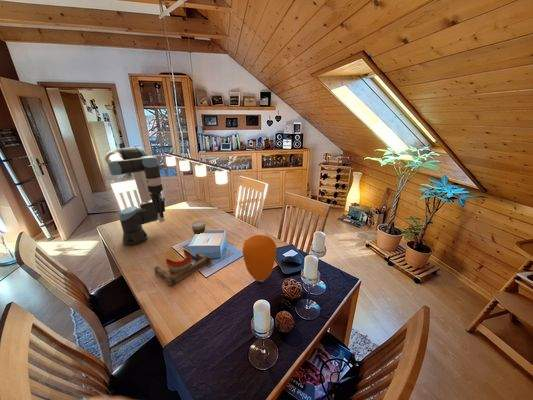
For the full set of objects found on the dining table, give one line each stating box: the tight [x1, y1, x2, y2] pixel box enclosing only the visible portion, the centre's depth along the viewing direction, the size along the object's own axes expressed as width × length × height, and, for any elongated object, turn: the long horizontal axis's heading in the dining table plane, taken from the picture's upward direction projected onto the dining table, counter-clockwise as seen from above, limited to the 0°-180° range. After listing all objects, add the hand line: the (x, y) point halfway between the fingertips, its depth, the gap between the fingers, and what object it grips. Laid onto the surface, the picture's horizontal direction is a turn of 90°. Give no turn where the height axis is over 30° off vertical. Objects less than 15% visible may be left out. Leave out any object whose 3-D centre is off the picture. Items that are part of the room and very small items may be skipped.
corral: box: [153, 253, 212, 288], centre depth 128 cm, size 17×26×4 cm, turn 143°
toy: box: [165, 249, 193, 275], centre depth 127 cm, size 12×10×8 cm
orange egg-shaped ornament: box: [242, 234, 278, 283], centre depth 115 cm, size 17×17×25 cm
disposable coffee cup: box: [190, 220, 206, 235], centre depth 157 cm, size 10×10×12 cm
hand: (162, 221), depth 135 cm, fingers closed
